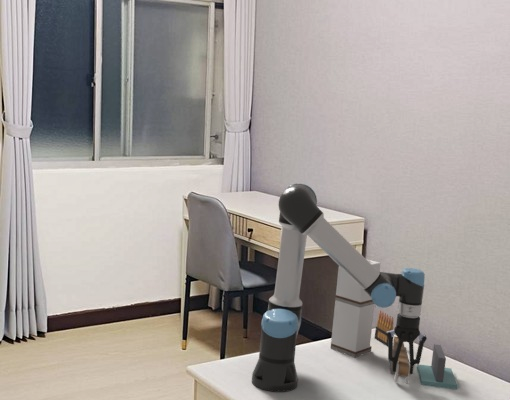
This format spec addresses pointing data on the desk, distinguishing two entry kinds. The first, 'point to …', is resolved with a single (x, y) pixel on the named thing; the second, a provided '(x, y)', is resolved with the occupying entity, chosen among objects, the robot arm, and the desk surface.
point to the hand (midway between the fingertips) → (401, 381)
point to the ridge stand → (437, 371)
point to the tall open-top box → (352, 316)
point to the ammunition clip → (383, 328)
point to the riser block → (392, 362)
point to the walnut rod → (402, 359)
